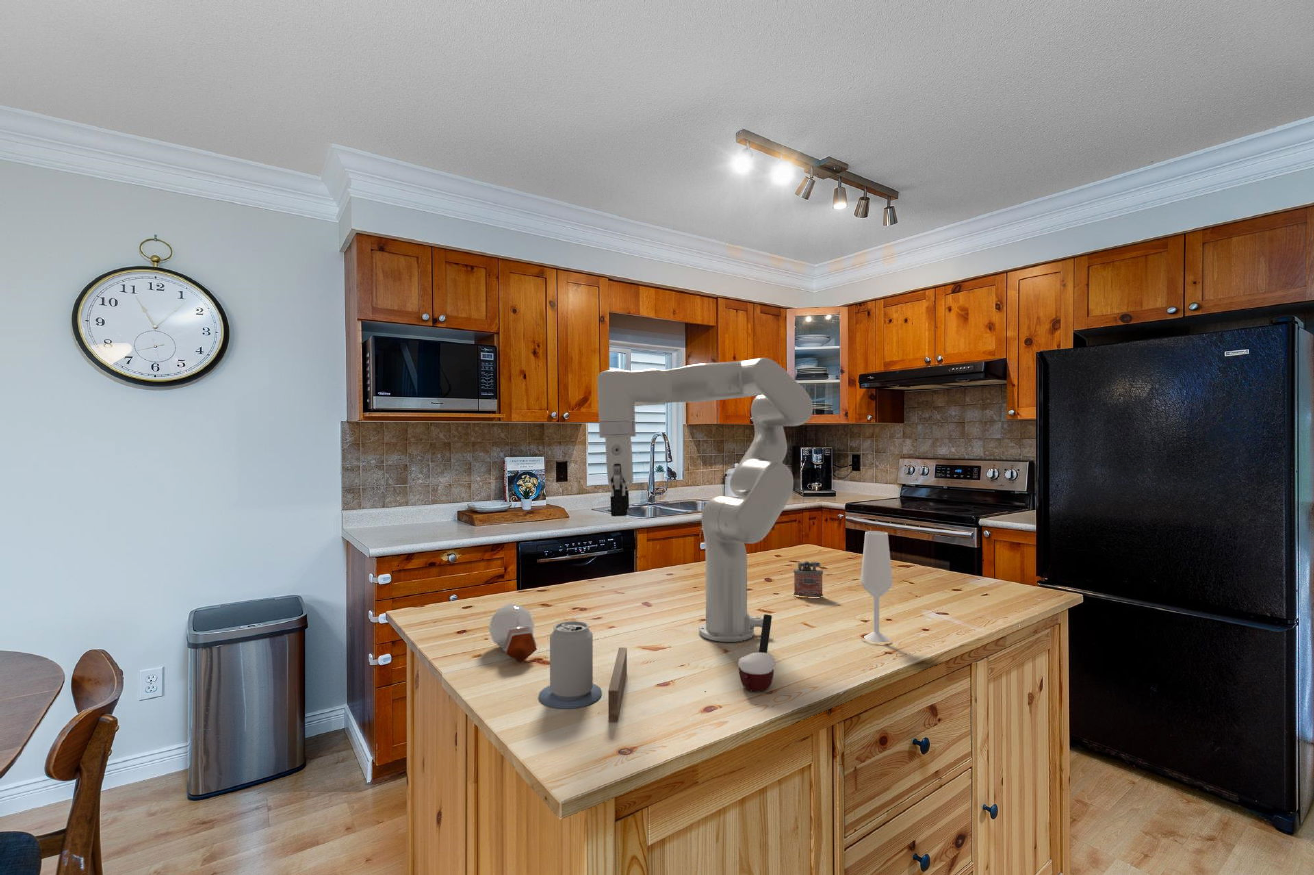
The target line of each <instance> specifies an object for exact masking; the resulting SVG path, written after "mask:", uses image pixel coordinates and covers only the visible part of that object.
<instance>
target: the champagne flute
mask: <svg viewBox="0 0 1314 875" xmlns="http://www.w3.org/2000/svg"><path fill="white" fill-rule="evenodd" d="M863 542H864V543H863V552H862V562H861V572H860V573H861V574H860V584H861V585H862V587H863V588H864V590H865V591H866V592H867V593H868V594H869V595H870V596H872V597H873V631H872V632H869V633H868V634H866V635H864V638H865V639H866V640H870V641H872V642H889V640H891V639H890V638H889V637H887V636H886V635H884V633H881V631H880V598H881V597H883V596H884V595H885V594H886V593H887V592H889V590H890V589H891V588H892V586H893V584H894V583H893V574H892V564H891V563H892V562H891V553H890V552H891V551H890V543H889V542H890V541H889V533H888V532H886V531H880V530H876V531H875V530H869V531H865V533H864V541H863Z"/></svg>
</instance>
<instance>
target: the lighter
mask: <svg viewBox="0 0 1314 875" xmlns="http://www.w3.org/2000/svg"><path fill="white" fill-rule="evenodd" d="M797 566H798V568H794V569H793V574H794V575H793V576H794V578H793V579H794V580H793V581H794V584H793V588H794V592H793V596H794V595H799V596H810V597H821V596H823V597H824V594H823V574H824V570H822V569H817V568H821V562H820V561H809V560H805V561H804V562H803V561H797Z"/></svg>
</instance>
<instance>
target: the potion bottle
mask: <svg viewBox="0 0 1314 875" xmlns="http://www.w3.org/2000/svg"><path fill="white" fill-rule="evenodd" d="M534 627H535V621H534V619H533V616H532V613H531V611H530V610H528V609H526V608H525V607H523V606H522V605H520V604H515V603H507V604H506V605H504V606H501V607H499V608H497V610H496V611H495V612H494V614H493V615H492V617H491V618H490V621H489V626H488V631H489V634H490V637H491V640H492V642H493V644H496V645H497V646H499V647H500V648H501V649H502V651H504V653H505V655H506V656H508V657H510V658H511V659H514V660H516V661H517V662H519V663H523V662H524V661H525V660H527V659H528V658H529V657H530V656H531V655H533V654H534V653H535V652H537V650H538V649H537V643H536V640H535V639H536V638H535V636H534V631H535V630H534Z"/></svg>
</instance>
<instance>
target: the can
mask: <svg viewBox="0 0 1314 875" xmlns="http://www.w3.org/2000/svg"><path fill="white" fill-rule="evenodd" d="M593 636H594V635H593V632H592V631H591V629H590V625H589V624H588V623H587V622H584V621H580V620H579V621H578V620H569V621H562V622H559V623H556V624H555V625H553V631H552V632H551V634H550V635H549V686H550V691H551V692H552V693H553V694H554V695H555V696H556V697H557V698H560V699H565V700H573V699H579V698H582V697H584V696H586V695H587V694H588V692H590V691H591V690H592V687H593V684H594V682H593V680H594V677H593V671H594V664H593V663H594V661H593V660H594V659H593V658H594V655H593V653H594V650H593V649H594V648H593V647H594V646H593V645H594V644H593V642H594V640H593V638H594V637H593Z"/></svg>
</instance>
